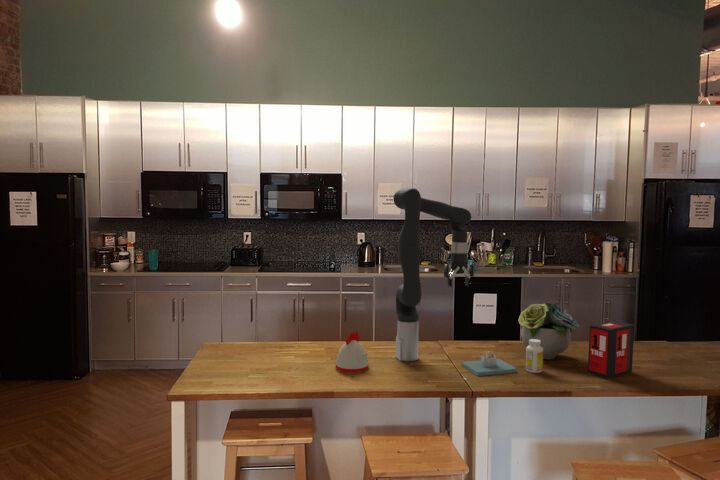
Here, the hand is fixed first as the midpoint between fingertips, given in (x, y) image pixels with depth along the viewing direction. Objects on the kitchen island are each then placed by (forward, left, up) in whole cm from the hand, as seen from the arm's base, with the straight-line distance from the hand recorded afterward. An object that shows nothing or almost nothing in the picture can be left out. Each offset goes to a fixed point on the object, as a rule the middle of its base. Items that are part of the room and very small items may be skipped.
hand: (458, 286), depth 251 cm
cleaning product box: (+46, -47, -30) cm, 72 cm away
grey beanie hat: (-55, -14, -30) cm, 64 cm away
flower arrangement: (+33, -21, -30) cm, 49 cm away
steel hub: (0, -30, -29) cm, 41 cm away
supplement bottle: (+17, -37, -30) cm, 51 cm away
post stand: (0, -30, -30) cm, 42 cm away
